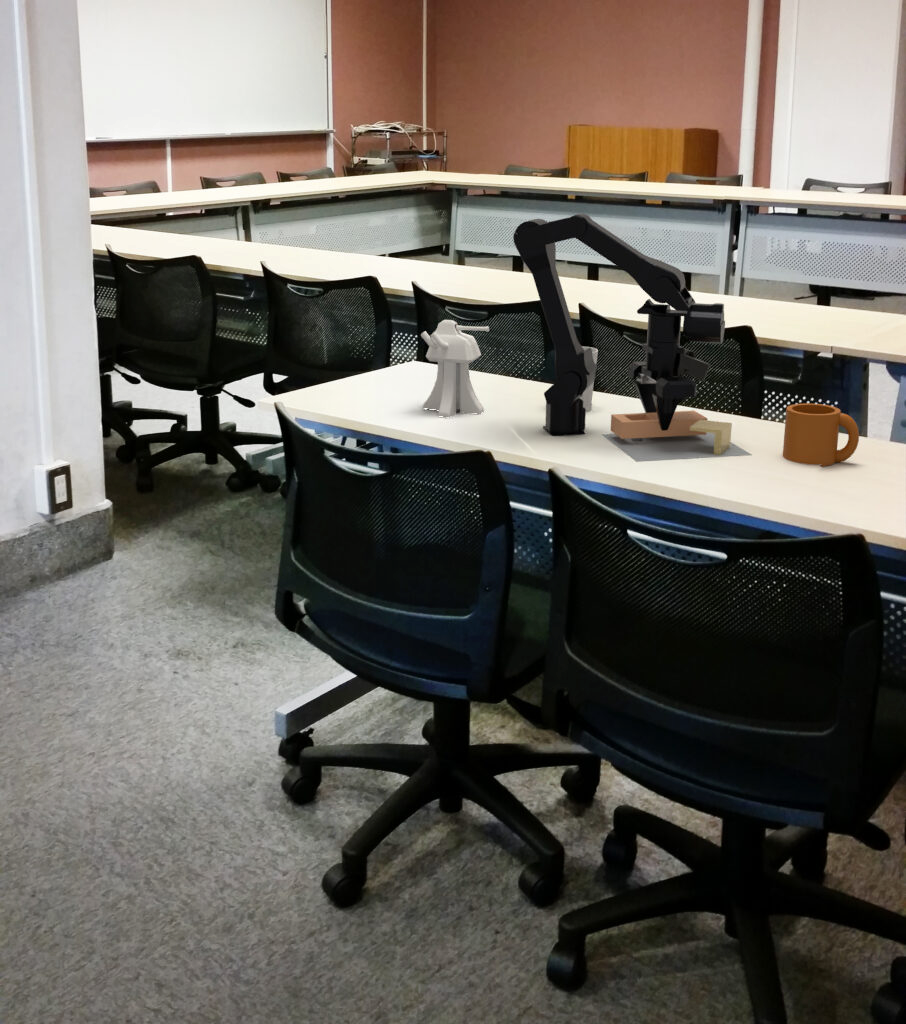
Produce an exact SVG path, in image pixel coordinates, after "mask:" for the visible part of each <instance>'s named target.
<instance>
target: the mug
mask: <svg viewBox="0 0 906 1024" xmlns="http://www.w3.org/2000/svg"><path fill="white" fill-rule="evenodd" d="M841 411H842V410H841V409H840V408H838V407H836V406H833V405H828V404H822V403H795V404H790V405H787V407H786V410H785V423H784V434H783V444H782V445H783V446H782V449H783V450H782V457H783V458H784V459H786V461H790V462H793V463H798V464H802V465H803V464H805V465H816V466H817V465H819V466H820V467H827V465H828V466H832V465H834V464H835V463H841V462H844V461H845V462H846V460H848V459H849V458H851V457H852V456H853V454H854V453H855V452H856V449H858V445H859V441H860V432H859V431H860V430H859V427H858V425H857V423H856V421H855V420H854V419H853V417H851V416H850V415H848V414H846V413H843V412H841ZM840 426H841V427H842V428H844V429H845V430H846V431H847V436H848V438H847V442H846V444H845V446H844V447H842V448H841V449H838V442H839V433H840V432H839V431H840ZM833 463H834V464H833Z"/></svg>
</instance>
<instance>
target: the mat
mask: <svg viewBox="0 0 906 1024" xmlns="http://www.w3.org/2000/svg"><path fill="white" fill-rule="evenodd" d="M601 436H602V437H604V438H605V439H606V440H608V441H609V442H610V443H612V444H613V445H614V446H616V447H617V448H618V449H620V450H621V451H622V452H623V453H625V455H627V456H629V458H631V459H633V460H634V461H635V462H637V463H638V462H640V463H641V462H654V461H670V460H671V461H672V460H690V459H704V458H706V459H707V458H709V459H711V458H724V457H741V456H742V457H743V456H744V457H745V456H752V455H753V454H752V453H750V452H748V451H746V449H743V448H741V447H740V446H738V445H736V444H735V443H733V442H732V441H730V448H729V449H727V450H726V451H725V452H724V453H723V454H721V455H714V441H715V433H708V432H706V435H688V436H669V437H649V438H643V440H642V441H632V440H631V438H629V439H621V438H620V437H619V436H617V435H616V434H615V433H606V434H605V433H603V434H601Z"/></svg>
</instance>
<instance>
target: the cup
mask: <svg viewBox="0 0 906 1024" xmlns="http://www.w3.org/2000/svg"><path fill="white" fill-rule="evenodd" d="M581 346H582V345H581ZM582 348H583V349H584V350H586V349H588V348H591V349H592V355H593V360H594V363H595V364H596V365H597V363H598V362H597V361H598V353H599V350H598V348H595V347H593V346H592V347H590V346H582ZM594 383H595V380H594V381H593V383H592V385H590V386H589V387H588V388H587V389H586V390H585V391H584V393H583V395H582V396H581V397H579V398H580V399H581V400H583V407H584V408H585V409H586V413H588V412H591V411H592V408H593V406H592V405H593V403H592V402H593V401H592V400H593V392H594Z"/></svg>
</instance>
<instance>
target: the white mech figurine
mask: <svg viewBox="0 0 906 1024" xmlns="http://www.w3.org/2000/svg"><path fill="white" fill-rule="evenodd" d="M462 331H477V332H479V331H480V332H483V331H485V332H486V333H488V332H489V331H490V327H489V326H472V325H471V326H468V325H458V322H457V321H455V320H452V319H443V320H442V321H441V322H438V324H437V328H436V329H435V330H434V331H433V332H432V334H430V335H429V333H428V332H427V331H426V330H425V331H423V332H421V334H420V337H421V339H423V340H424V342H425V343H426V344H427V345H428V349H427V352H426V355H425V357H426V359H427V360H428V361H429V362H435V363H436V362H437V373H436V374H437V375H436V380H435V382H434V386H433V388H432V391H431V392H430V394H429V396H428V397H427V399H426V401H424V403H423V405H422V409H423V408H428V409H436V410H439V411H437V412H438V416H443V417H450V416H452V415H453V414H454V415H456V414H459V413H458V412H464V413H463V414H467V413H477V414H476V415H479V414H480V415H482V414H483V413H484V412H485V409H484V406H483V405H482V403H481V402H480V399H479V398H478V397H477V394H476V392H475V390H474V387H473V385H472V382H471V379H470V378H471V377H470V364H471V363H472V362H474V361H475V360H478V358H480V356H482V353H481V350H480V348H479V347H480V346H479V345H478V343H477V340H476V339H475V336H473V335H471V334H467V333H464V332H462ZM482 412H483V413H482ZM455 413H456V414H455ZM481 413H482V414H481ZM454 415H453V416H454ZM453 416H452V417H453ZM450 418H451V417H450Z"/></svg>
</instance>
